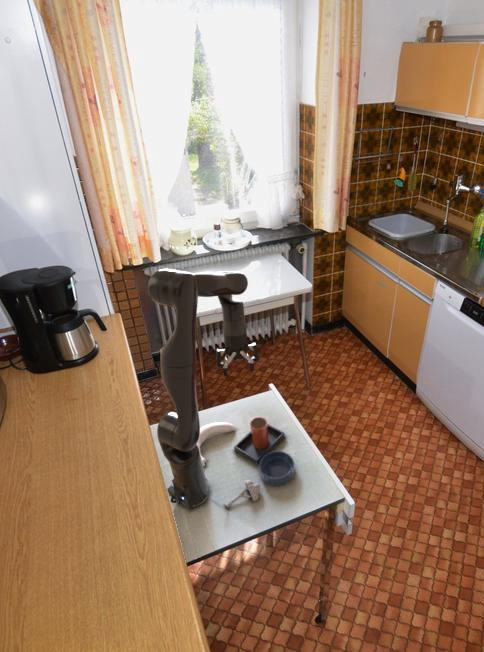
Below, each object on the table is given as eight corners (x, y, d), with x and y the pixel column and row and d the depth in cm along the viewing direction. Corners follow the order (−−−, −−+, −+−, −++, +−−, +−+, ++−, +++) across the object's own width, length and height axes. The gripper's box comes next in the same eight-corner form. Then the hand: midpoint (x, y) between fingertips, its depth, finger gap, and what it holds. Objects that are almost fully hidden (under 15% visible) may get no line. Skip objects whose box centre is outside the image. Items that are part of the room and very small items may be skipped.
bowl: (280, 493, 138) (279, 485, 136) (253, 476, 144) (252, 468, 142) (301, 469, 145) (300, 461, 143) (274, 453, 151) (273, 445, 149)
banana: (229, 421, 166) (247, 446, 155) (183, 444, 159) (197, 472, 148) (227, 412, 163) (245, 437, 152) (179, 435, 157) (194, 462, 146)
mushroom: (220, 493, 135) (253, 473, 138) (222, 499, 138) (255, 478, 142) (230, 513, 131) (265, 491, 134) (232, 518, 134) (266, 497, 138)
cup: (261, 451, 152) (259, 431, 147) (249, 444, 155) (246, 424, 150) (272, 440, 156) (270, 421, 151) (259, 433, 159) (257, 414, 154)
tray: (257, 465, 148) (257, 460, 146) (234, 451, 154) (233, 446, 152) (284, 437, 157) (284, 432, 156) (262, 425, 163) (261, 420, 162)
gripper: (215, 338, 139) (220, 383, 145) (258, 331, 143) (261, 375, 149) (211, 330, 146) (216, 373, 152) (253, 323, 149) (256, 365, 155)
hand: (238, 374), depth 150 cm, fingers open, 8 cm apart
